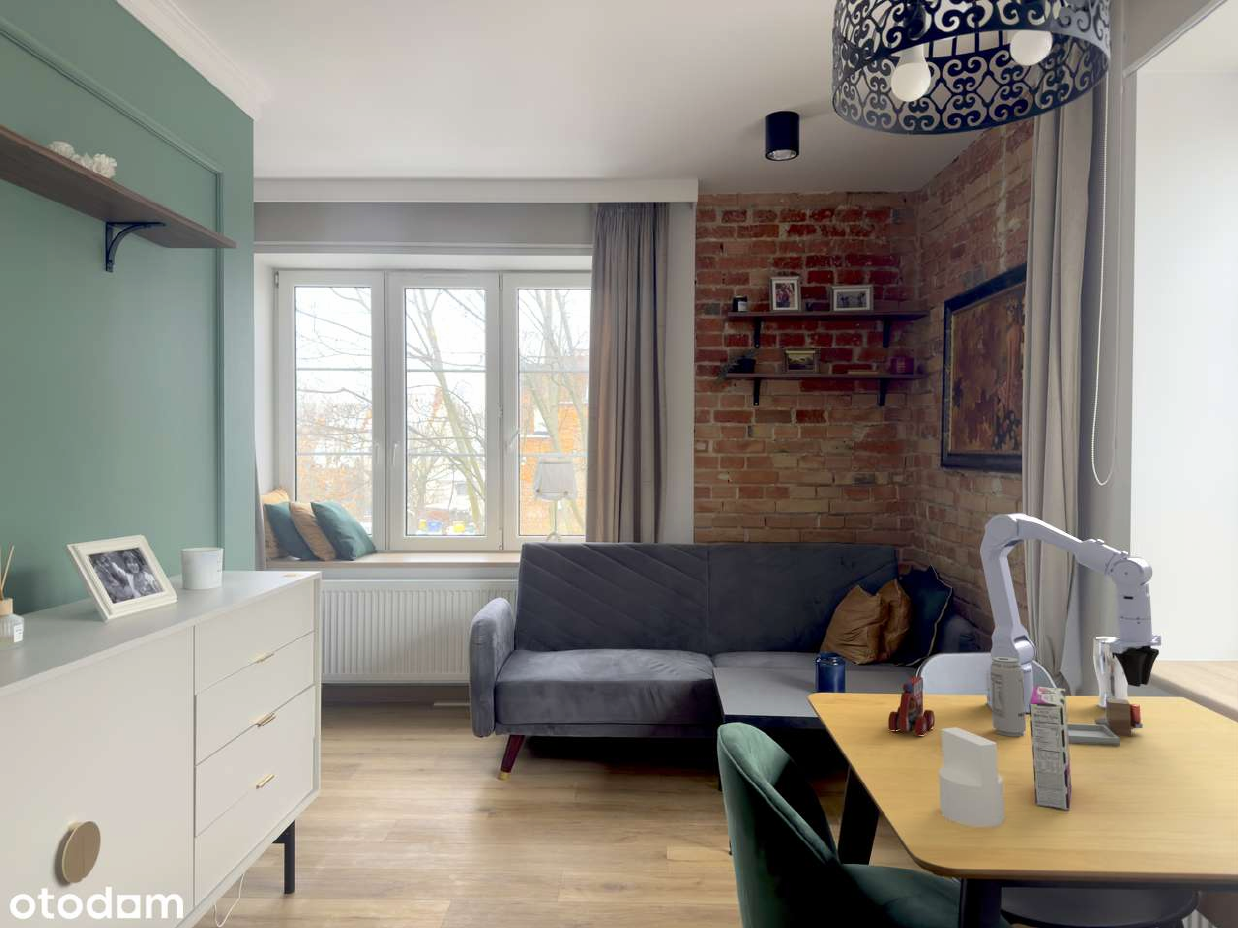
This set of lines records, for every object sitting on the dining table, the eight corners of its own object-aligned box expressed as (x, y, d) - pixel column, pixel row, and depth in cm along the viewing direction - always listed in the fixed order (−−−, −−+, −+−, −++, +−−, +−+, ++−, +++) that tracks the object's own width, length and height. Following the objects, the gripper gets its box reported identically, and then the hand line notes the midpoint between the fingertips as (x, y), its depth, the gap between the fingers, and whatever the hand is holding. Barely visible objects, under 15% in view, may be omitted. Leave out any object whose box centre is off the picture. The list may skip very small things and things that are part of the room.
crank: (1102, 715, 163) (1101, 695, 163) (1117, 715, 163) (1116, 694, 163) (1131, 728, 154) (1130, 706, 154) (1146, 727, 154) (1145, 706, 154)
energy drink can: (1028, 738, 154) (1025, 662, 154) (995, 736, 156) (992, 661, 156) (1023, 729, 160) (1019, 656, 160) (991, 727, 161) (988, 655, 162)
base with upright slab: (1018, 821, 116) (1014, 741, 117) (968, 830, 113) (965, 748, 114) (974, 799, 125) (971, 724, 125) (928, 807, 122) (924, 731, 123)
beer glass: (1088, 705, 175) (1085, 638, 176) (1108, 701, 178) (1104, 635, 179) (1119, 712, 169) (1115, 643, 170) (1139, 708, 172) (1135, 640, 173)
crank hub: (1101, 727, 159) (1101, 723, 159) (1091, 718, 166) (1090, 714, 166) (1140, 729, 157) (1140, 725, 157) (1128, 719, 164) (1127, 715, 164)
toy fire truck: (885, 735, 158) (882, 684, 159) (904, 720, 168) (902, 672, 168) (919, 741, 154) (917, 689, 154) (937, 726, 164) (935, 676, 164)
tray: (1069, 742, 150) (1069, 735, 150) (1057, 729, 159) (1057, 722, 159) (1119, 745, 148) (1119, 738, 148) (1104, 731, 156) (1104, 724, 156)
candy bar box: (1037, 782, 131) (1033, 685, 132) (1072, 787, 128) (1066, 688, 129) (1033, 805, 122) (1027, 700, 122) (1069, 812, 119) (1064, 704, 120)
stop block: (1131, 736, 153) (1129, 703, 153) (1110, 734, 154) (1108, 702, 155) (1128, 731, 156) (1126, 699, 156) (1107, 729, 158) (1105, 697, 158)
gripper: (1133, 623, 150) (1137, 693, 149) (1175, 616, 157) (1179, 683, 156) (1097, 618, 156) (1101, 686, 156) (1139, 612, 163) (1142, 676, 162)
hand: (1137, 684), depth 156 cm, fingers closed
